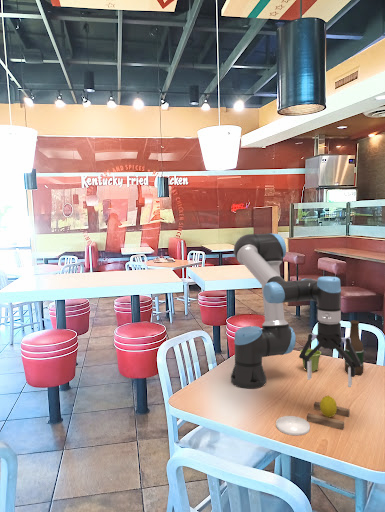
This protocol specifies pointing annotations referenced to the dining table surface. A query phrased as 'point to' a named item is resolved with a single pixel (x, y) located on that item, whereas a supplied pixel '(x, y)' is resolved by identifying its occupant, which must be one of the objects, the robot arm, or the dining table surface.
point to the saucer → (292, 425)
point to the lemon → (328, 406)
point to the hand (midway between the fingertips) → (329, 382)
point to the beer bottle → (355, 347)
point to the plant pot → (313, 359)
